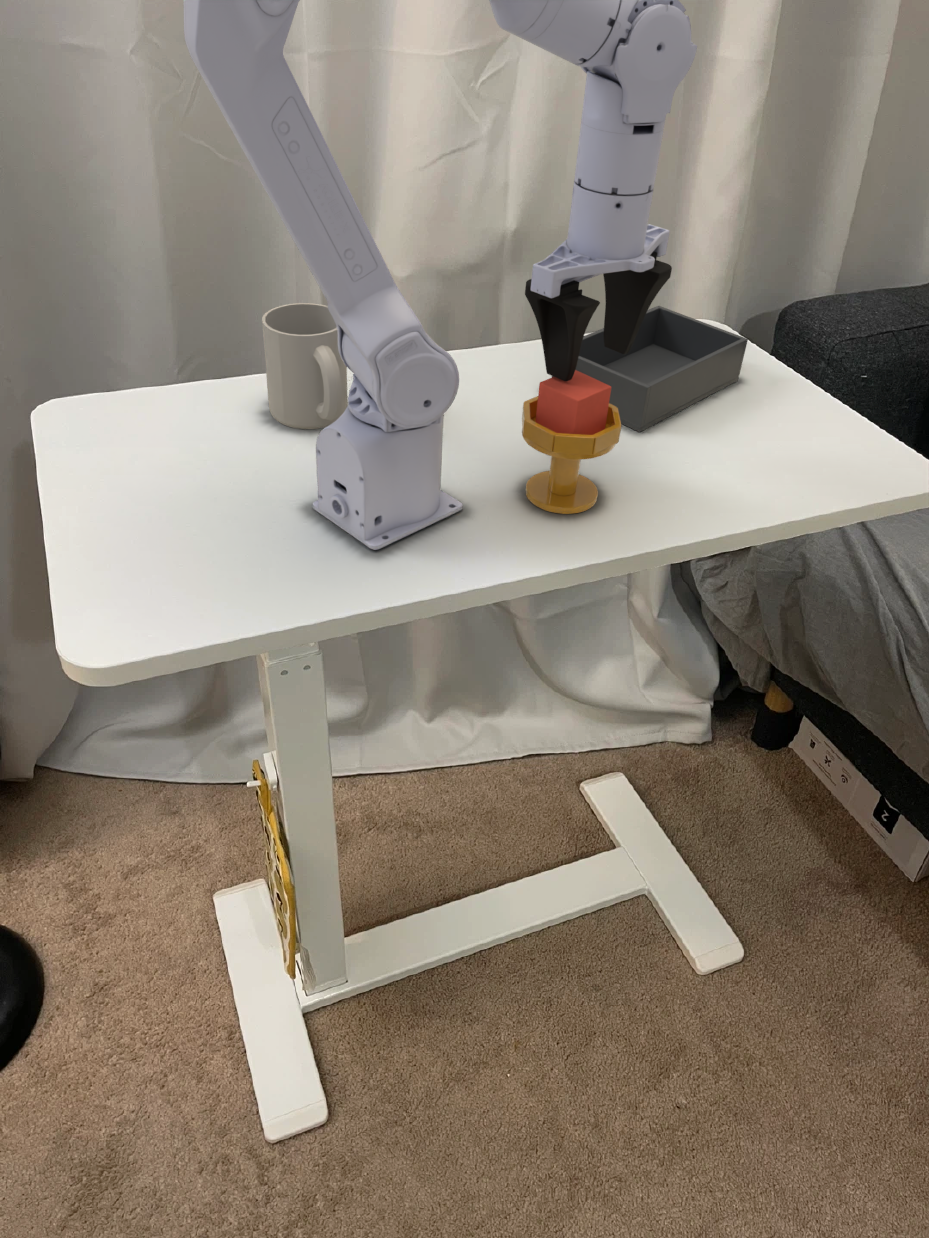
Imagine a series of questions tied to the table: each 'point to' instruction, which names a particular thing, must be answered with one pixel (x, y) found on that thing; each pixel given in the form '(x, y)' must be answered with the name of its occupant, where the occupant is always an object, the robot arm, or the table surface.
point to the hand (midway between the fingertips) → (588, 362)
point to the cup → (304, 366)
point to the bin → (663, 366)
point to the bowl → (565, 461)
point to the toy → (573, 404)
